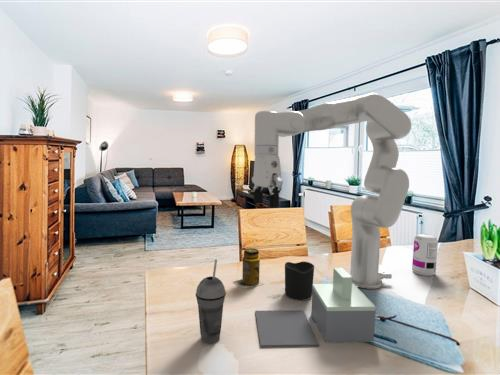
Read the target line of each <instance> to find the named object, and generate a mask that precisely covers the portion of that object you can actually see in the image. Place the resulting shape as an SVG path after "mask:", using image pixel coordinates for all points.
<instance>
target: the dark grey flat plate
mask: <svg viewBox="0 0 500 375" xmlns="http://www.w3.org/2000/svg"><path fill="white" fill-rule="evenodd" d="M255 318H256V324H257V332H258V338H259V344H260V348H284V347H286V348H291V347H292V348H295V347H296V348H297V347H298V348H299V347H303V348H304V347H320V343H319V341H318V339H317V337H316V334H315V332H314V331H313V328H312V325H311V323H310V321H309V319H308V317H307V315H306V313H305V310H304V309H297V310H294V309H291V310H289V309H288V310H286V309H284V310H280V309H279V310H274V309H273V310H255Z"/></svg>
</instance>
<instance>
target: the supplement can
mask: <svg viewBox="0 0 500 375" xmlns="http://www.w3.org/2000/svg"><path fill="white" fill-rule="evenodd" d="M438 245H439V241H438V238H437V236H436V235H434V234H428V233H417V234H416V235H415V236H414V238H413V249H412V250H413V251H412V262H411V269H412V270H411V271H413V273H415V274H417V275H419V276H426V277H431V276H434V275H435V274H436V272H437V271H436V270H437V259H438V249H439V248H438Z"/></svg>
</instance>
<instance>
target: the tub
mask: <svg viewBox="0 0 500 375" xmlns="http://www.w3.org/2000/svg"><path fill="white" fill-rule="evenodd" d="M310 314H311V316H313V317H312V319H313V318H314V319H313V321H314V320H315V321H314V322H316V323H315V324H316V327H317V328H318V331H319V332H320V335H321V336H322V338H323V341H324V343H369V341H374V340H375V325H376V324H375V322H376V310H375V311H327V310H326V309H325V307H324V306H323V304H322V302H321V301H320V299H319V297H318V296H317V294H316V293H315V291H314V289H313V288H312V296H311V313H310Z"/></svg>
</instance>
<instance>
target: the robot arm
mask: <svg viewBox="0 0 500 375" xmlns="http://www.w3.org/2000/svg"><path fill="white" fill-rule="evenodd" d="M362 122H366V126H365V132H366V135H367V137H368V139H369V140H370V142H371V144H372V145H371V146H372V149H373V150H372V156H371V159H370V163H369V165H368V168H367V171H366V174H365V176H364V181H363V186H364V188H365V190H367V191H368V192H370V193H372V194H376V195H378V197H377V196H371V195H366V194H365V195H364V194H363V195H360V196H357V197H356V198H355V199H354V200H353V201H352V202H351V205H350V217H351V222H352V223H351V226H352V228H351V229H352V230H351V232H352V233H351V234H352V235H351V248H350V250H351V253H350V254H351V255H350V271H349V273H348V274H349V275H350V276H351V277H352V284H354V285H355V286H358V287H357V288H359V287H362V288H361V289H364V288H367V290H374V289H380V288H381V287H383V280H384V279H385V280H387V279H388V280H389V279H392V278H393V275H392V273H391V272H385V271H383V270H381V271H380V270H379V269H380V268H379V266H380V249H381V229H380V228H383V229H389V228H391V227H393V225H395V224H396V223H397V221H398V219H399V217H400V215H401V212H402V209H403V206H404V203H405V200H406V197H407V196H408V192H409V189H410V179H409V176H408V173H407V172H406V171H405V170H403V169H401V168H398V167H397V165H398V164H397V163H398V162H399V147H398V145H397V143H396V141H395V140H400V139H403V138H405V137H406V136H408V135H409V133H410V132H411V130H412V122H411V119H410V117H409V116H408V114H406V112H404V111H403V110H402V109H401V108H399V107H398V106H396V105H395V104H394V103H393V102H391V101H390V100H389V99H388V98H386V97H384V96H383V95H380V94H379V93H375V92H370V93H367V94H364V95H359V96H354V97H351V98H346V99H340V100H336V101H330V102H325V103H320V104H318V105H316V106H312V107H310V108H307V109H302V110H298V111H295V110H288V111H273V110H260V111H257V112H256V113H255V116H254V163H253V176H252V177H251V182H252V191H253V204H263V203H264V191H262V190H263V189H268V191H269V195H268V207H269V209H274V208H275V209H276V208H279V205H280V204H279V202H280V195H281V191H282V186H283V185H284V184H283V182H284V181H283V180H282V172H281V160H280V159H281V158H280V156H279V148H280V147H279V143H280V142H279V141H280V140H279V139H280V138H284V137H285V138H286V137H292V136H297V135H299V134H301V133H308V132H314V131H325V130H331V129H336V128H340V127H345V126H349V125H353V124H359V123H362ZM279 137H280V138H279Z"/></svg>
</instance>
